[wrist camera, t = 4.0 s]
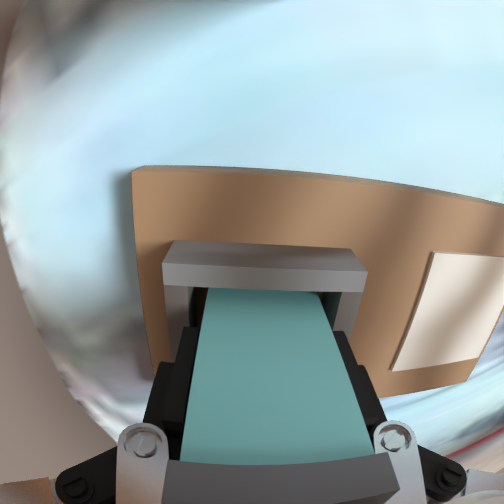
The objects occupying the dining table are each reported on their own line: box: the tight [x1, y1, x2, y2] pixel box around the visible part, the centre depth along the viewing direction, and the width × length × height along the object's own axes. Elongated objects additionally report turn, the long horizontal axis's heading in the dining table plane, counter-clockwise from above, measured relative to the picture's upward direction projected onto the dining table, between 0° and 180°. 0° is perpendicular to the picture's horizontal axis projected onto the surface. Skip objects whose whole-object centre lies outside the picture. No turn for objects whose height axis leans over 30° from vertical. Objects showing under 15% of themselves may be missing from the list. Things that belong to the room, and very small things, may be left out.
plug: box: [161, 287, 400, 504], centre depth 9 cm, size 4×4×9 cm
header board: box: [132, 166, 504, 398], centre depth 13 cm, size 20×12×4 cm, turn 86°
